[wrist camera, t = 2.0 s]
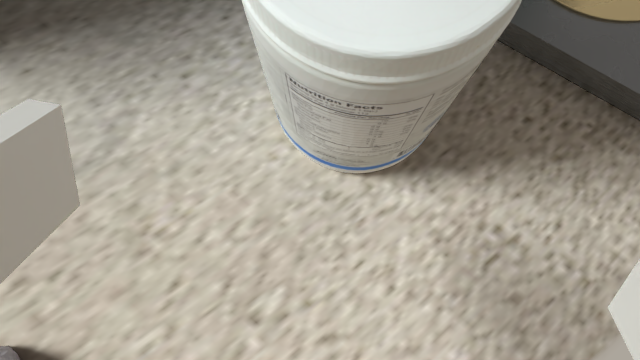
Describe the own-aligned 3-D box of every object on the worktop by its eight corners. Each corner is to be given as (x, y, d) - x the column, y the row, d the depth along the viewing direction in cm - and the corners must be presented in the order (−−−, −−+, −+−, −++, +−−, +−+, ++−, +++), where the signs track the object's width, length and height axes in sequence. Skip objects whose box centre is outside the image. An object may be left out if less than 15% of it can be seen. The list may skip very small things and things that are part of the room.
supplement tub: (286, 18, 29) (247, -245, 15) (441, 34, 29) (557, -220, 14) (264, 170, 27) (192, 38, 12) (430, 189, 26) (553, 75, 12)
